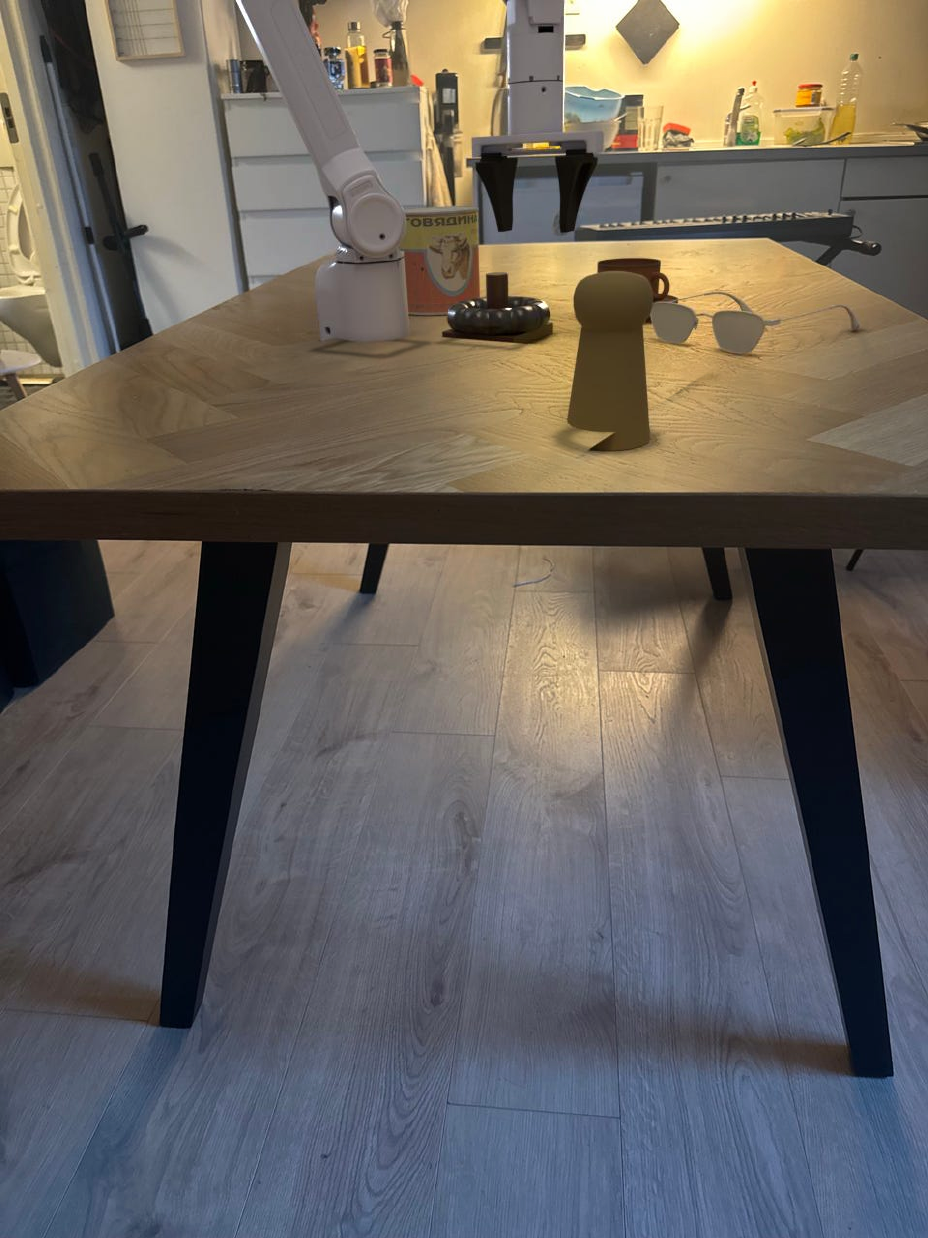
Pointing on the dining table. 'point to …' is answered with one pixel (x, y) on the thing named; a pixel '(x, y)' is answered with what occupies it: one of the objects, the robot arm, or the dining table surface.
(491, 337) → the stand
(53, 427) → the dining table surface
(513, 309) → the ring
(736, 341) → the eyeglasses
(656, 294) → the cup and saucer
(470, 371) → the dining table surface
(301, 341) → the dining table surface
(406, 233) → the canned food
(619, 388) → the cork
